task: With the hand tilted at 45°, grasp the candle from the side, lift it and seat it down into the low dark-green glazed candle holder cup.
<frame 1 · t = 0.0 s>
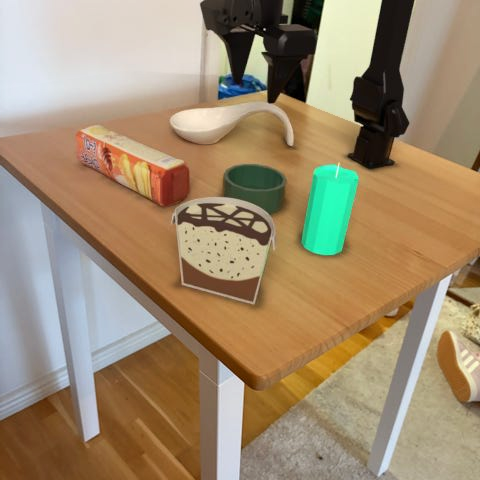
hand: (253, 93, 78), 15 cm above the table, tool pointing down, fingers open, 9 cm apart
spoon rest: (231, 141, 102), on the table
snack package: (130, 183, 85), on the table
food container: (226, 282, 66), on the table
holder: (252, 200, 83), on the table
candle: (321, 245, 75), on the table
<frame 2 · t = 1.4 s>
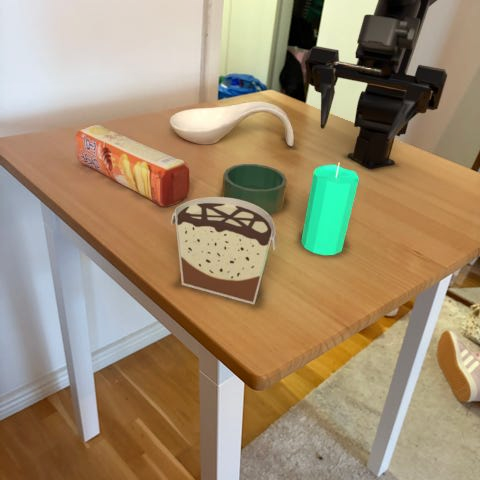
hand: (354, 134, 72), 13 cm above the table, tool tilted 45°, fingers open, 9 cm apart
nothing on the table moved.
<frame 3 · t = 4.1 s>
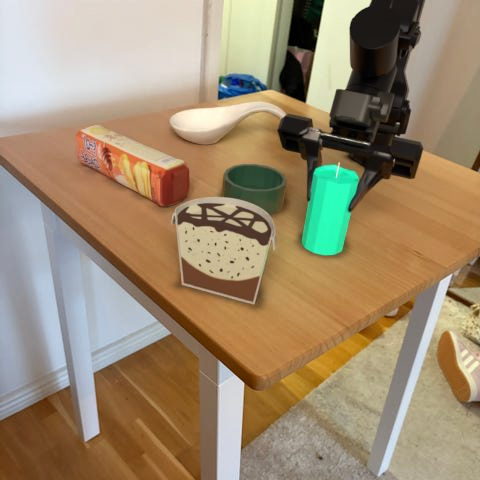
hand: (328, 205, 70), 7 cm above the table, tool tilted 45°, fingers closed on candle, 5 cm apart
candle: (322, 245, 75), on the table, touching gripper
everything else where it was.
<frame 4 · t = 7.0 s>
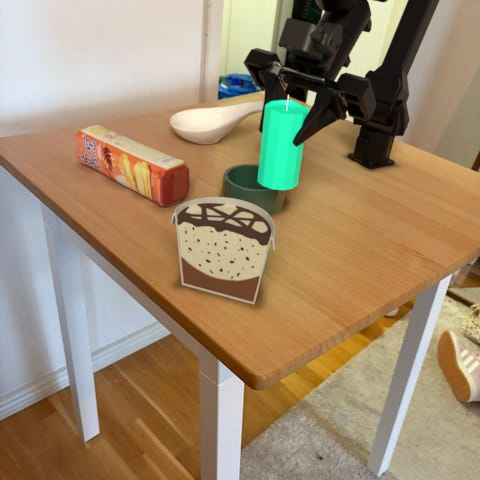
hand: (277, 138, 71), 12 cm above the table, tool tilted 45°, fingers closed on candle, 5 cm apart
candle: (277, 182, 77), point 5 cm above the table, touching gripper
everything else where it was.
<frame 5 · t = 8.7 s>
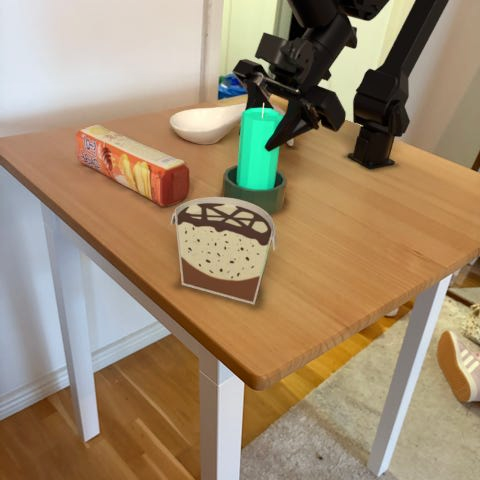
hand: (253, 143, 77), 10 cm above the table, tool tilted 45°, fingers closed on candle, 5 cm apart
candle: (255, 184, 82), point 3 cm above the table, touching gripper
everything else where it was.
when the fingers open (7 cm above the table, at t = 9.9 s): candle stays where it is, resting on holder.
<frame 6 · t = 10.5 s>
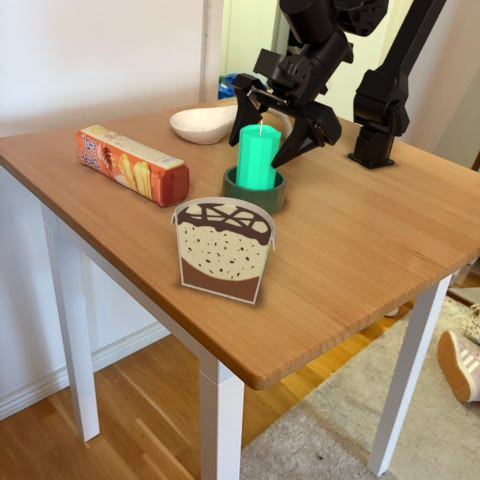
hand: (250, 155, 78), 8 cm above the table, tool tilted 45°, fingers open, 9 cm apart
candle: (253, 198, 83), resting on holder
everything else where it was.
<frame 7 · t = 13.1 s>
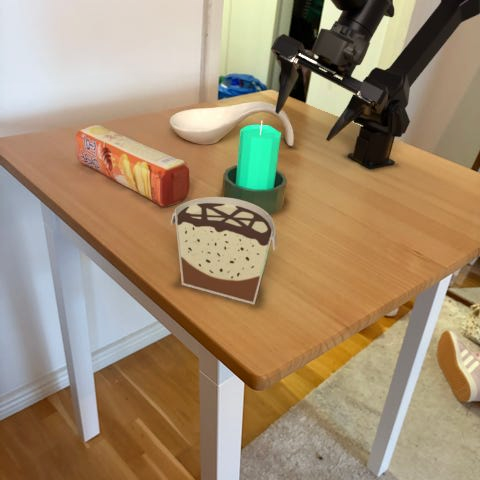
hand: (301, 126, 82), 10 cm above the table, tool tilted 35°, fingers open, 9 cm apart
nothing on the table moved.
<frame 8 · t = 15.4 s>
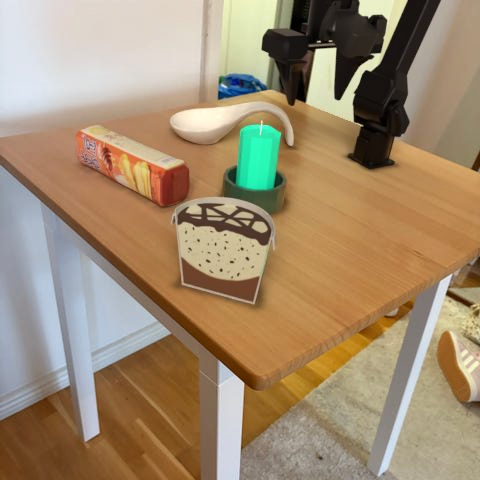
hand: (314, 102, 82), 13 cm above the table, tool pointing down, fingers open, 9 cm apart
nothing on the table moved.
at the end: candle 0.2 cm off-centre in the holder, point 0.3 cm above the holder's base; candle tilted 0°; the gripper is holding nothing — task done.
